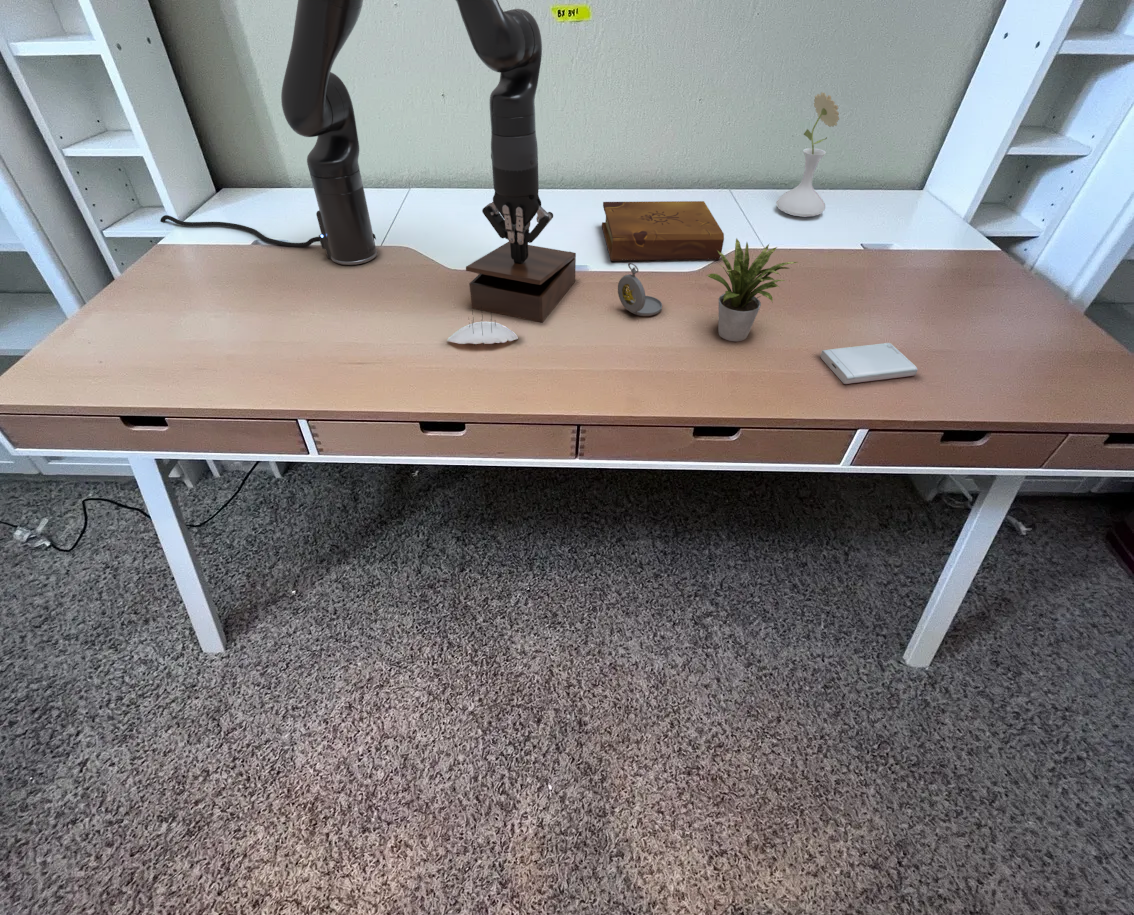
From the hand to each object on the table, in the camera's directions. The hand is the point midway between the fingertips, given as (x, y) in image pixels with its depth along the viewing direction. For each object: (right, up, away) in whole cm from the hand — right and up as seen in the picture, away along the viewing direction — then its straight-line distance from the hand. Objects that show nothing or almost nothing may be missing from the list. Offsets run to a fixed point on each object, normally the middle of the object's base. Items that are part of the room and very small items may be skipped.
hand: (519, 261), depth 113 cm
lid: (0, 0, +2) cm, 2 cm away
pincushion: (-6, -16, -6) cm, 18 cm away
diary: (+29, +11, +24) cm, 39 cm away
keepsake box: (+1, -4, +7) cm, 8 cm away
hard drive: (+58, -21, -10) cm, 62 cm away
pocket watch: (+22, -8, +2) cm, 24 cm away
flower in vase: (+65, +24, +39) cm, 79 cm away
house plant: (+38, -15, -4) cm, 41 cm away
